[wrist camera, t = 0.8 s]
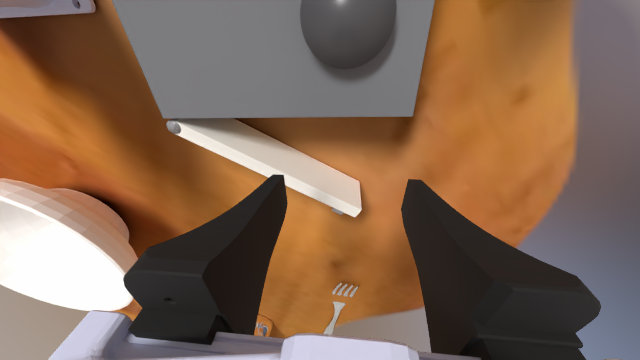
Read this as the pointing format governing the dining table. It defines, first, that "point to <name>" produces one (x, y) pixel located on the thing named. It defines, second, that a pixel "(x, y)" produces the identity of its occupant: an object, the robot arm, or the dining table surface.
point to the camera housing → (279, 56)
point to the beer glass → (263, 326)
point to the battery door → (272, 160)
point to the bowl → (63, 247)
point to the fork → (338, 307)
